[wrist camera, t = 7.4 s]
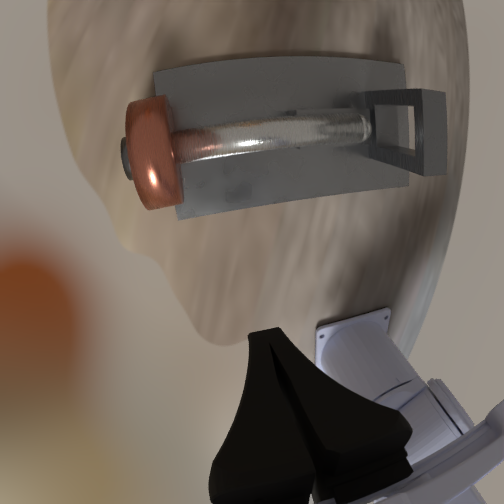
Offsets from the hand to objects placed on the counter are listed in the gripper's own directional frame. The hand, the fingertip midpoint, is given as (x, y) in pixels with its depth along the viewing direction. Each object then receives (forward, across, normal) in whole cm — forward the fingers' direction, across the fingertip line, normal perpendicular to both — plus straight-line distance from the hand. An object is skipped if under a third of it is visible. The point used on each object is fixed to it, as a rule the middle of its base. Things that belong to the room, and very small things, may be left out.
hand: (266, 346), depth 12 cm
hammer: (+10, -2, -8) cm, 13 cm away
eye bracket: (+10, -5, -8) cm, 14 cm away
